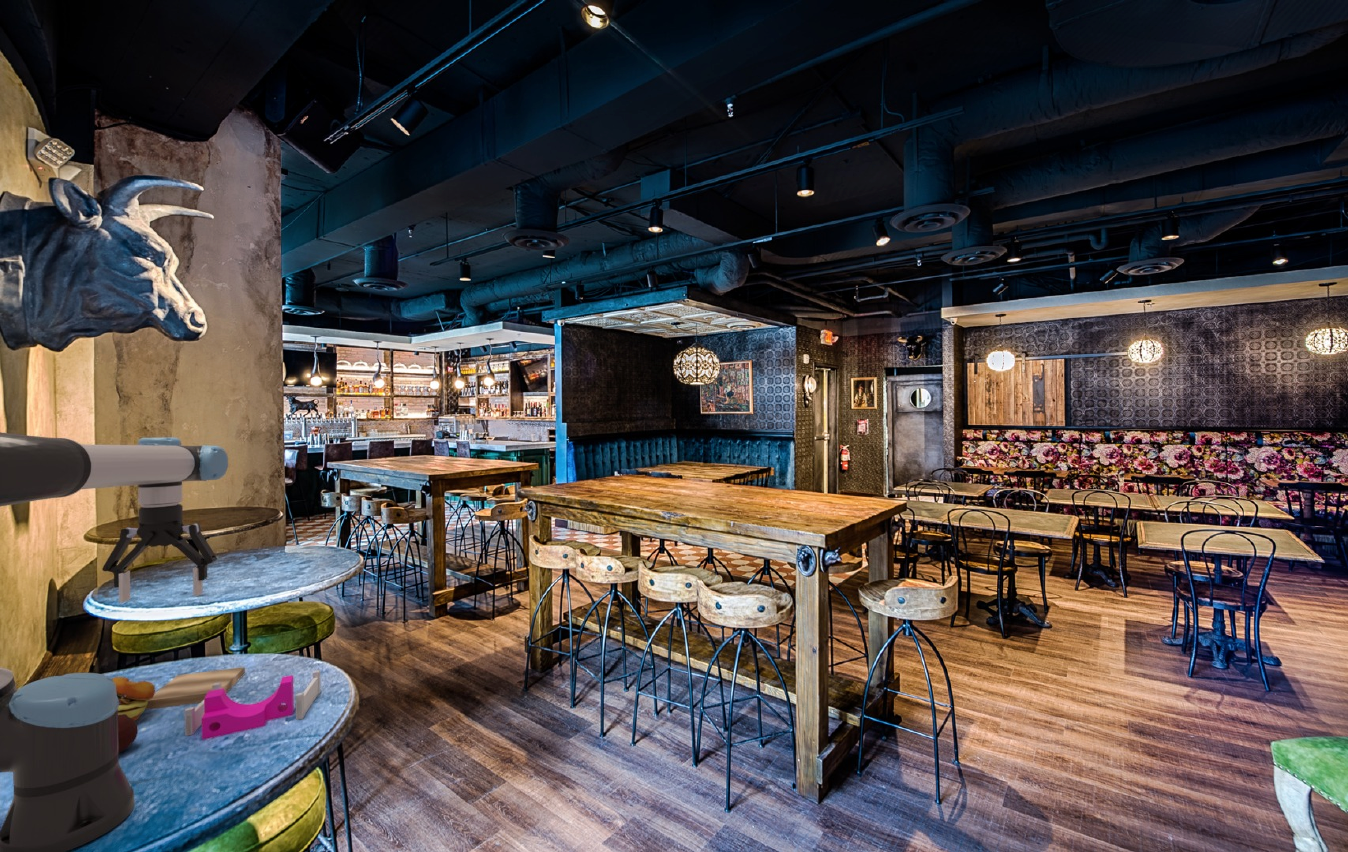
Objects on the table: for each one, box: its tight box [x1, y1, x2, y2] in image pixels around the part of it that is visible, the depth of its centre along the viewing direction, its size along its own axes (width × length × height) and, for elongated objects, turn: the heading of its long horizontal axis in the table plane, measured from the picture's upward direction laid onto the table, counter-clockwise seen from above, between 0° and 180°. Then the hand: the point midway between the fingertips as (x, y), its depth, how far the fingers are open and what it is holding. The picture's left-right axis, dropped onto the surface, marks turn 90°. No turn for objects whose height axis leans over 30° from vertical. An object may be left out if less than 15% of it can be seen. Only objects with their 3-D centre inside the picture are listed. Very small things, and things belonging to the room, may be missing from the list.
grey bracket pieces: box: [184, 669, 322, 737], centre depth 127 cm, size 13×21×5 cm, turn 107°
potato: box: [118, 715, 139, 754], centre depth 112 cm, size 7×8×7 cm
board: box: [145, 666, 246, 710], centre depth 138 cm, size 14×14×2 cm
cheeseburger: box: [111, 676, 156, 722], centre depth 123 cm, size 10×11×10 cm
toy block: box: [201, 675, 295, 741], centre depth 122 cm, size 15×6×8 cm, turn 119°
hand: (162, 598), depth 131 cm, fingers open, 13 cm apart
